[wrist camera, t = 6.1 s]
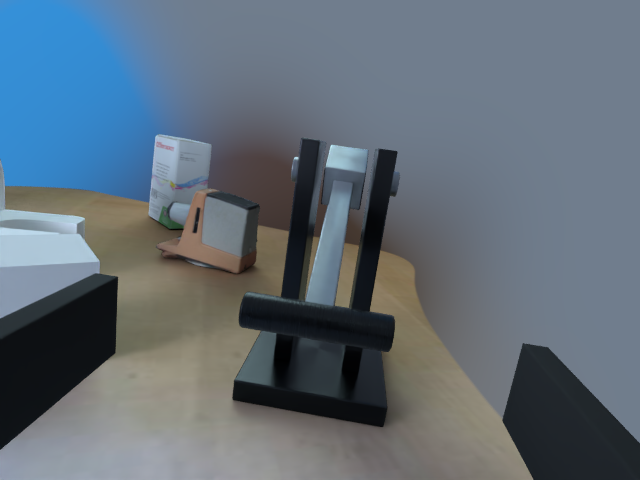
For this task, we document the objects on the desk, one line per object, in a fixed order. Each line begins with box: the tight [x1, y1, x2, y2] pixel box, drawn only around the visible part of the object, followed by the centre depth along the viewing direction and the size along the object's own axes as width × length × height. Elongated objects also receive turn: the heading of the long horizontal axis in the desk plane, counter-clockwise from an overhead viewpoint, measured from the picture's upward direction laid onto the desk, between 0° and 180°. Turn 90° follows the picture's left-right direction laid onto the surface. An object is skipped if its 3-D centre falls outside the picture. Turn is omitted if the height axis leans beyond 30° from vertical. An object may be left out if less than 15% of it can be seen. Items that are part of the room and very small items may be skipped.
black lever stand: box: [232, 138, 400, 427], centre depth 25 cm, size 10×8×14 cm
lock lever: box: [239, 145, 395, 352], centre depth 20 cm, size 13×6×2 cm, turn 174°
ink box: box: [149, 134, 212, 229], centre depth 59 cm, size 9×5×12 cm, turn 39°
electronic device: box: [156, 189, 260, 274], centre depth 44 cm, size 4×10×8 cm, turn 76°
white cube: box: [0, 234, 100, 318], centre depth 23 cm, size 6×6×6 cm
